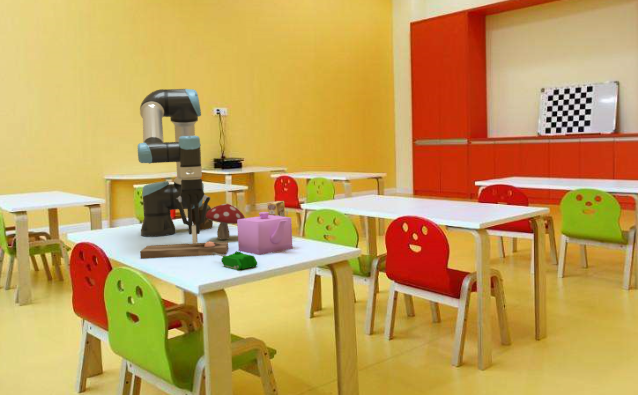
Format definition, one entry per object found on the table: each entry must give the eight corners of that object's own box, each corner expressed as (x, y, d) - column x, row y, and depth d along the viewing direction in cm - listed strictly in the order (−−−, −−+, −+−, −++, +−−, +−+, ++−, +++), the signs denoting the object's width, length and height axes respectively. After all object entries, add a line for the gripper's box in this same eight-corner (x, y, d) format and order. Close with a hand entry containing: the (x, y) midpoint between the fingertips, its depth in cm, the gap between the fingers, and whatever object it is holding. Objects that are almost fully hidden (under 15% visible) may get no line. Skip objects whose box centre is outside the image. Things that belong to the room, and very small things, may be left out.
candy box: (278, 241, 230) (276, 203, 229) (268, 241, 231) (267, 203, 230) (286, 237, 238) (284, 200, 237) (276, 237, 240) (275, 200, 238)
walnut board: (147, 252, 216) (147, 245, 215) (228, 248, 218) (228, 241, 218) (140, 258, 204) (140, 251, 204) (226, 254, 206) (225, 247, 206)
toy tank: (225, 259, 198) (225, 245, 197) (257, 267, 183) (257, 252, 183) (208, 263, 193) (207, 248, 193) (239, 271, 179) (238, 255, 178)
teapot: (271, 257, 198) (269, 217, 197) (231, 249, 217) (229, 212, 216) (304, 251, 208) (303, 212, 207) (264, 243, 227) (262, 208, 226)
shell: (191, 227, 278) (190, 202, 277) (214, 226, 279) (213, 201, 278) (188, 230, 268) (187, 204, 266) (212, 229, 269) (211, 203, 267)
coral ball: (202, 245, 213) (209, 238, 213) (210, 253, 214) (217, 245, 214) (201, 248, 209) (209, 240, 209) (209, 255, 210) (217, 247, 210)
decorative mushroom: (243, 235, 248) (241, 200, 246) (248, 241, 232) (246, 204, 231) (205, 238, 244) (203, 203, 242) (208, 244, 228) (206, 206, 227)
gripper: (171, 179, 204) (175, 245, 207) (208, 178, 206) (212, 243, 208) (174, 178, 212) (178, 242, 214) (210, 177, 213) (213, 240, 215)
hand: (195, 242), depth 211 cm, fingers closed
